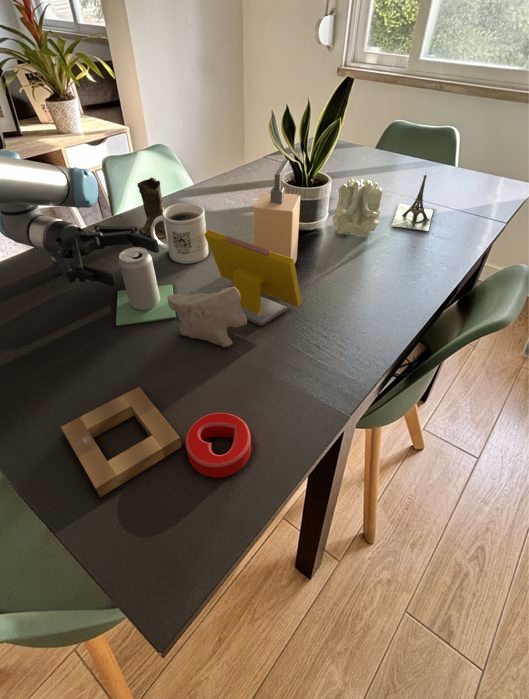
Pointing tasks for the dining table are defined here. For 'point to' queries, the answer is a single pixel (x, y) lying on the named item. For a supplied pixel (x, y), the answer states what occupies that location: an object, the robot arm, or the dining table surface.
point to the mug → (183, 232)
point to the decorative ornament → (203, 452)
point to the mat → (132, 315)
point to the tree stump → (152, 206)
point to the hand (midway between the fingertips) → (135, 262)
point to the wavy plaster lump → (358, 208)
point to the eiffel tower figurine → (413, 214)
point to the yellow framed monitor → (256, 276)
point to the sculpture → (209, 314)
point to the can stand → (131, 460)
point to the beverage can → (139, 278)
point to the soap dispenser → (277, 218)
